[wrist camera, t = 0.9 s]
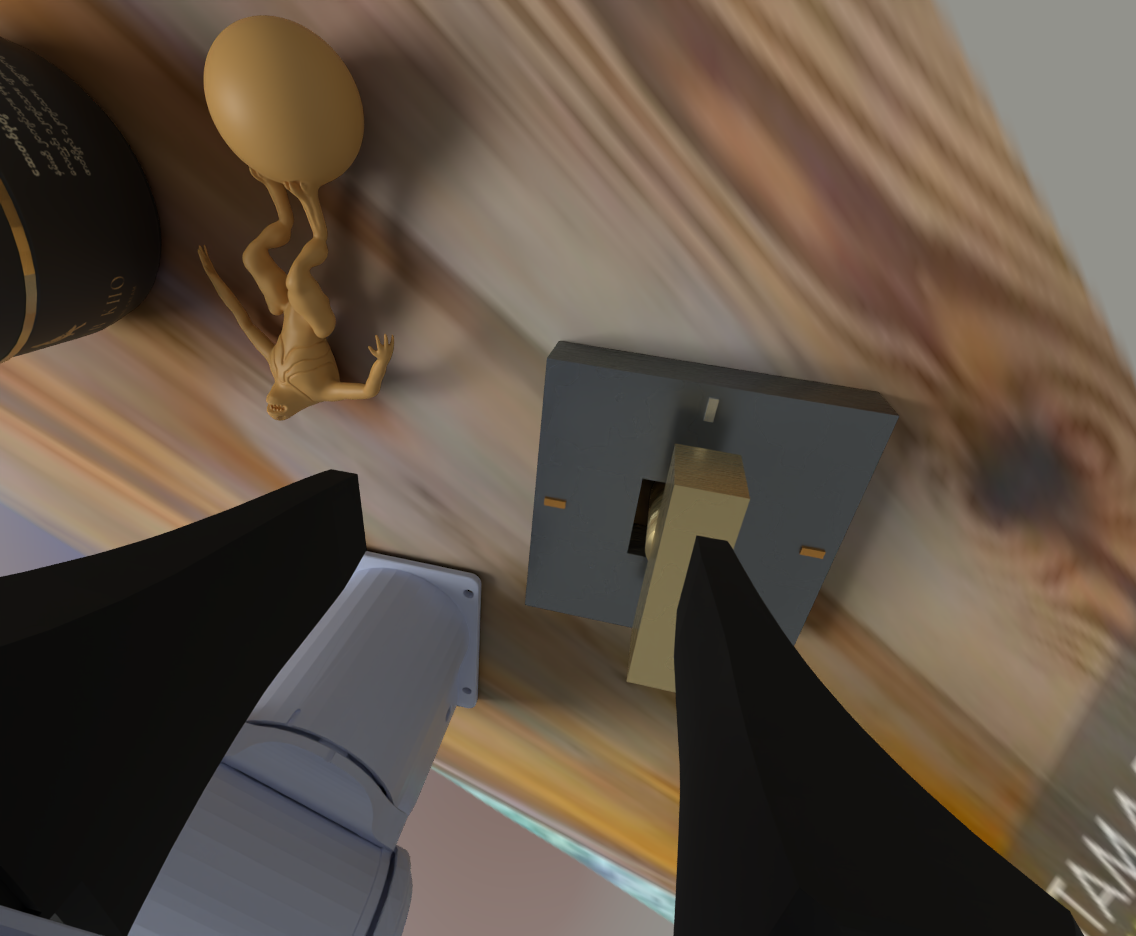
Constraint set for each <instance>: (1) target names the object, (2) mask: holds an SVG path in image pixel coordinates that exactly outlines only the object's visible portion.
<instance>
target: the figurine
mask: <svg viewBox="0 0 1136 936" xmlns="http://www.w3.org/2000/svg"><path fill="white" fill-rule="evenodd" d="M204 91H205V97H206V102H207V105H208V109H209V112H210V114H211V117H212V119H213V121H214V124H215V126H216V127H217V129H218V131H219V133H220V134H221V136H222V138H223V139H224V140H225V142H226V143H227V145H228V146H229V147H230V148H231V149H232V151H233V152H234V153H235V154H236V155H237V156H238V157H239V158H240V159H241V160H242V161H243V162H245V163H246V164H247V165H248V166H249V170H250V173H251V174H252V176H253V177H255V179H257V180H258V181H260V182H262V183H263V184H264V185H265V186H266V187H267V189H268V191H269V194H270V196H271V198H272V200H273V202H274V204H275V206H276V209H277V213H278V217H279V220H278V221H277V222H274V223H272V224H270V225H268V226H267V227H266V228H265V229H264V230H263V231H262V232H261V234H260V235H259V236H258V237H257V238H256V239H255V240H253V241H252V242H251V243H250V244H249V245H248V247H247V248H246V250H245V251H244V253H243V256H242V259H243V263H244V265H245V267H246V268H247V269H248V271H249V272H250V273H251V274H252V276H253V277H254V279H255V281H256V283H257V284H258V286H259V288H260V290H261V291H262V293H263V294H264V296H265V300H266V303H267V304H268V308H269V311H270V312H271V313H272V314H273V315H281V314H282V313H283V312H284V322H283V328H282V332H281V334H280V335H279V338H278V341H277V344H276V345H274V344H273V343H272V342H271V341H270V340H269V338H268V337H267V336H266V335H265V334H264V333H262V332H261V331H260V330H259V329H258V328H257V327H255V326H254V325H253V323H252V322H251V320H250V318H249V316H248V314H247V312H246V311H245V309H244V308H243V307H242V305H241V304H240V302H239V301H238V299H237V298H236V297H235V295H234V294H233V293H232V291H231V290H230V289H229V288H228V286H227V285H226V284H225V283H224V282H223V281H222V280H221V278H220V277H219V275H218V274H217V272H216V271H215V269H214V267H213V264H212V262H211V260H210V259H209V256H208V253H207V249H206V247H205V245H204V251H203V249H202V247H201V246H200V245H199V250H197V251H198V254H199V257H200V260H201V262H202V264H203V268H204V270H205V272H206V273H207V275H208V277H209V279H210V280H211V282H212V284H213V285H214V287H215V289H216V291H217V293H218V295H219V296H220V298H221V299H222V300H223V302H224V303H225V304H226V306H227V307H228V308H229V309H230V310H231V311H232V313H233V314H234V316H235V318H236V320H237V322H238V323H239V325H240V327H241V328H242V330H243V331H244V332H245V334H246V335H247V337H248V338H249V340H250V341H251V342H252V344H253V345H254V346H255V347H256V349H257V350H258V351H259V352H260V353H261V354H262V355H263V356H264V357H265V358H266V360H267V361H268V363H269V365H270V369H271V372H272V374H273V376H274V378H275V383H274V385H273V387H272V389H271V391H270V392H269V394H268V395H267V399H266V401H267V402H268V406H267V412H268V414H269V415H270V416H271V417H272V418H273V419H275V420H279V421H281V420H285V419H288V418H290V417H291V416H293V415H294V414H296V413H297V412H299V411H301V410H303V409H305V408H307V407H309V406H311V405H314V404H317V403H319V402H323V401H340V400H344V399H367V398H372V397H374V396H376V395H377V394H378V393H379V391H380V388H381V382H382V379H383V377H384V375H385V373H386V368H387V365H388V363H389V361H390V359H391V356H392V353H393V348H394V336H393V335H392V337H391V342H390V344H388V338H387V335H386V334H384V345H382V344H381V343H380V340H379V338H378V336H377V335H376V336H375V337H376V342H377V348H378V350H374V349H372V348H371V347H370V346H368V348H369V350H370V351H371V353H372V354H373V355H374V356H375V357H377V358H378V359H377V360H376V361H375V363H374V364H373V366H372V368H371V371H370V375H369V378H368V379H367V382H366V384H362V383H346V382H340V377H339V372H338V368H337V364H336V361H335V359H334V356H333V353H332V351H331V348H330V346H329V344H328V342H327V340H326V337H328V336H329V335H330V334H331V333H332V332H333V330H334V328H335V324H336V319H335V315H334V313H333V312H332V310H331V308H330V302H329V299H328V297H327V296H326V295H325V294H324V293H323V292H322V290H321V288H320V286H319V284H318V282H317V281H316V280H315V279H314V278H313V277H312V276H311V274H310V269H311V268H312V267H315V266H318V265H320V264H322V263H323V262H324V261H325V259H326V258H327V255H328V248H327V245H326V240H327V235H328V233H327V227H326V224H325V220H324V217H323V213H322V209H321V206H320V202H319V198H318V190H319V188H320V187H321V186H322V185H324V184H326V183H328V182H331V181H333V180H335V179H336V178H338V177H339V176H341V175H342V174H343V173H344V172H345V171H346V170H347V169H348V168H349V167H350V166H351V165H352V163H353V162H354V160H355V158H356V157H357V155H358V152H359V150H360V147H361V144H362V139H363V133H364V113H363V107H362V102H361V98H360V95H359V92H358V89H357V86H356V84H355V82H354V79H353V77H352V75H351V74H350V72H349V70H348V68H347V67H346V65H345V64H344V62H343V61H342V60H341V58H340V57H339V56H338V55H337V53H336V52H335V51H334V50H333V49H332V48H331V47H330V46H329V45H328V44H327V43H326V42H325V41H324V40H323V39H321V38H320V37H319V36H318V35H316V34H315V33H313V32H312V31H310V30H309V29H307V28H305V27H304V26H302V25H300V24H298V23H295V22H293V21H290V20H287V19H284V18H280V17H275V16H252V17H247V18H244V19H241V20H238V21H236V22H234V23H233V24H231V25H229V26H228V27H227V28H225V29H224V30H223V31H222V32H221V33H220V34H219V35H218V36H217V38H216V39H215V41H214V42H213V44H212V46H211V48H210V50H209V52H208V55H207V58H206V62H205V68H204ZM285 187H286V188H285ZM286 189H288V190H289V191H290V192H291V193H292V194H294V195H295V196H296V197H297V198H298V199H299V200H300V202H301V204H302V206H303V208H304V210H305V213H306V215H307V218H308V221H309V223H310V226H311V228H312V231H313V239H311V240H310V241H309V242H308V243H307V244H305V246H304V247H303V249H302V251H301V253H300V254H299V255H298V257H297V258H296V259H295V261H294V262H293V264H292V266H291V268H290V271H289V273H288V275H287V274H286V273H285V272H284V271H283V270H282V269H281V268H279V267H278V266H277V264H276V263H275V262H274V260H273V259H272V258H271V257H270V255H269V253H268V249H270V248H278V247H281V246H283V245H285V244H287V243H288V242H289V240H290V237H291V228H292V226H293V223H294V217H293V212H292V209H291V206H290V202H289V199H288V195H287V191H286Z"/></svg>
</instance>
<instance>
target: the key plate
mask: <svg viewBox="0 0 1136 936" xmlns="http://www.w3.org/2000/svg"><path fill="white" fill-rule="evenodd" d="M898 418H899V415H898V414H897V413H896V412H895V410H894V409H893V408H892V407H891V406H890V405H889V404H888V402H887V401H886V400H885V399H884V398H883V397H882V395H881V394H880V393H879V392H874V391H868V390H862V389H855V388H849V387H843V386H837V385H831V384H824V383H818V382H812V381H806V380H799V379H793V378H787V377H781V376H774V375H768V374H762V373H756V372H749V371H743V370H737V369H731V368H724V367H718V366H712V365H706V364H700V363H693V362H687V361H681V360H675V359H668V358H662V357H656V356H650V355H643V354H637V353H631V352H625V351H618V350H612V349H606V348H600V347H593V346H587V345H581V344H575V343H569V342H562V341H559V342H558V343H557V344H556V346H555V347H554V349H553V350H552V352H551V353H550V355H549V356H548V357H547V364H546V375H545V386H544V397H543V409H542V420H541V431H540V442H539V453H538V465H537V476H536V487H535V498H534V510H533V521H532V532H531V543H530V555H529V566H528V577H527V588H526V600H525V605H528V606H533V607H538V608H542V609H547V610H552V611H556V612H561V613H566V614H570V615H575V616H580V617H584V618H589V619H594V620H598V621H603V622H608V623H612V624H617V625H622V626H626V627H631V628H632V627H633V622H634V618H635V614H636V609H637V605H638V601H639V597H640V592H641V588H642V584H643V579H644V575H645V571H646V567H647V562H648V560H647V557H646V553H645V544H646V533H647V527H646V526H640V525H635V524H633V522H634V517H635V512H636V508H637V503H638V498H639V493H640V488H641V483H642V479H648V480H653V481H658V482H664V483H666V481H667V477H668V472H669V468H670V464H671V459H672V455H673V451H674V447H675V443H676V444H681V445H687V446H693V447H698V448H704V449H710V450H715V451H721V452H727V453H732V454H738V455H741V457H742V462H743V467H744V472H745V476H746V481H747V486H748V491H749V496H750V501H749V504H748V507H747V510H746V513H745V516H744V519H743V522H742V525H741V528H740V531H739V534H738V537H737V540H736V543H735V546H734V549H733V550H734V552H735V554H736V555H737V557H738V559H739V561H740V563H741V564H742V566H743V568H744V570H745V571H746V573H747V575H748V577H749V578H750V580H751V582H752V583H753V585H754V587H755V588H756V590H757V592H758V593H759V595H760V596H761V598H762V600H763V601H764V603H765V604H766V606H767V607H768V609H769V611H770V612H771V614H772V615H773V617H774V618H775V620H776V621H777V623H778V624H779V626H780V627H781V629H782V630H783V632H784V633H785V635H786V636H787V637H788V639H789V640H790V642H791V643H792V644H793V646H794V645H795V643H796V641H797V638H798V636H799V634H800V632H801V630H802V627H803V625H804V623H805V621H806V619H807V616H808V614H809V612H810V610H811V608H812V606H813V603H814V601H815V599H816V597H817V595H818V592H819V590H820V588H821V586H822V584H823V582H824V579H825V577H826V575H827V573H828V571H829V568H830V566H831V564H832V562H833V560H834V558H835V555H836V553H837V551H838V549H839V547H840V544H841V542H842V540H843V538H844V536H845V533H846V531H847V529H848V527H849V525H850V523H851V520H852V518H853V516H854V514H855V512H856V509H857V507H858V505H859V503H860V501H861V499H862V496H863V494H864V492H865V490H866V488H867V485H868V483H869V481H870V479H871V477H872V475H873V472H874V470H875V468H876V466H877V464H878V461H879V459H880V457H881V455H882V453H883V451H884V448H885V446H886V444H887V442H888V440H889V437H890V435H891V433H892V431H893V429H894V426H895V424H896V422H897V420H898Z"/></svg>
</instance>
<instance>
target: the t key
mask: <svg viewBox="0 0 1136 936" xmlns="http://www.w3.org/2000/svg"><path fill="white" fill-rule="evenodd" d="M749 501H750V496H749V491H748V486H747V481H746V476H745V472H744V467H743V462H742V457H741V455H738V454H732V453H727V452H721V451H715V450H710V449H704V448H698V447H693V446H687V445H681V444H676V443H675V447H674V451H673V455H672V459H671V464H670V468H669V472H668V477H667V481H666V483H664V482H658V481H656V482H655V483H654V485H653V486H652V489H651V492H650V502H649V512H648V523H647V533H646V544H645V553H646V557H647V560H648V562H647V567H646V571H645V575H644V579H643V584H642V588H641V592H640V597H639V601H638V605H637V609H636V614H635V618H634V622H633V627H632V635H631V644H630V653H629V663H628V672H627V682H631V683H635V684H639V685H644V686H648V687H653V688H657V689H662V690H666V691H671V692H675V693H676V691H675V672H674V643H675V628H676V613H677V608H678V604H679V600H680V596H681V592H682V589H683V585H684V581H685V577H686V573H687V570H688V566H689V562H690V558H691V554H692V551H693V547H694V543H695V539H696V535H698V536H703V537H709V538H714V539H720V540H726V541H728V542H729V544H730V545H731V546H732V548H733V549H734V546H735V543H736V540H737V537H738V534H739V531H740V528H741V525H742V522H743V519H744V516H745V513H746V510H747V507H748V504H749Z"/></svg>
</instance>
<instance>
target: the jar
mask: <svg viewBox="0 0 1136 936" xmlns="http://www.w3.org/2000/svg"><path fill="white" fill-rule="evenodd" d="M160 254H161V232H160V224H159V218H158V213H157V209H156V205H155V202H154V198H153V195H152V192H151V189H150V187H149V184H148V182H147V179H146V177H145V175H144V172H143V170H142V168H141V166H140V164H139V162H138V160H137V159H136V157H135V155H134V153H133V151H132V150H131V148H130V146H129V145H128V143H127V142H126V140H125V139H124V137H123V136H122V134H121V133H120V132H119V130H118V129H117V127H116V126H115V125H114V124H113V122H112V121H111V120H110V119H109V117H108V116H107V115H106V114H105V113H104V111H103V110H102V109H101V108H100V107H99V106H98V105H97V104H96V103H95V102H94V101H93V100H92V99H91V98H90V97H89V96H88V95H87V94H86V93H85V92H84V91H83V90H82V89H81V88H80V87H79V86H78V85H77V84H76V83H75V82H74V81H73V80H72V79H71V78H69V77H68V76H67V75H66V74H65V73H63V72H62V71H61V70H59V69H58V68H57V67H55V66H54V65H53V64H51V63H50V62H48V61H47V60H45V59H44V58H42V57H40V56H39V55H37V54H35V53H33V52H32V51H30V50H28V49H26V48H24V47H22V46H19V45H17V44H15V43H13V42H11V41H8V40H6V39H4V38H2V37H0V364H1V363H3V362H6V361H8V360H9V359H10V358H12V357H15V356H19V355H22V354H26V353H29V352H32V351H36V350H39V349H43V348H46V347H50V346H53V345H57V344H60V343H63V342H67V341H70V340H74V339H77V338H80V337H84V336H87V335H90V334H93V333H96V332H98V331H100V330H103V329H105V328H106V327H108V326H110V325H112V324H113V323H115V322H116V321H118V320H119V319H121V318H122V317H123V316H125V315H126V314H128V313H129V312H131V311H132V310H133V309H135V308H136V307H137V306H138V305H139V304H141V302H142V301H143V300H144V299H145V298H146V296H147V295H148V293H149V292H150V290H151V288H152V286H153V284H154V281H155V278H156V274H157V270H158V266H159V261H160Z"/></svg>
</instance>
